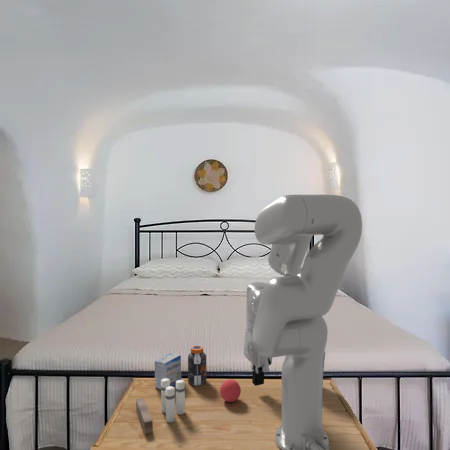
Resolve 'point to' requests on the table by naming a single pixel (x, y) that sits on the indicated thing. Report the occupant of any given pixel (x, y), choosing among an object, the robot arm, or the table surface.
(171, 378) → the medicine box
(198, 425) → the table surface
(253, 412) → the table surface
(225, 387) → the ball
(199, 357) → the pill bottle
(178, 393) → the front pin
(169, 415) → the pin
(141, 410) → the back wall
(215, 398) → the table surface
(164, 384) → the pin
